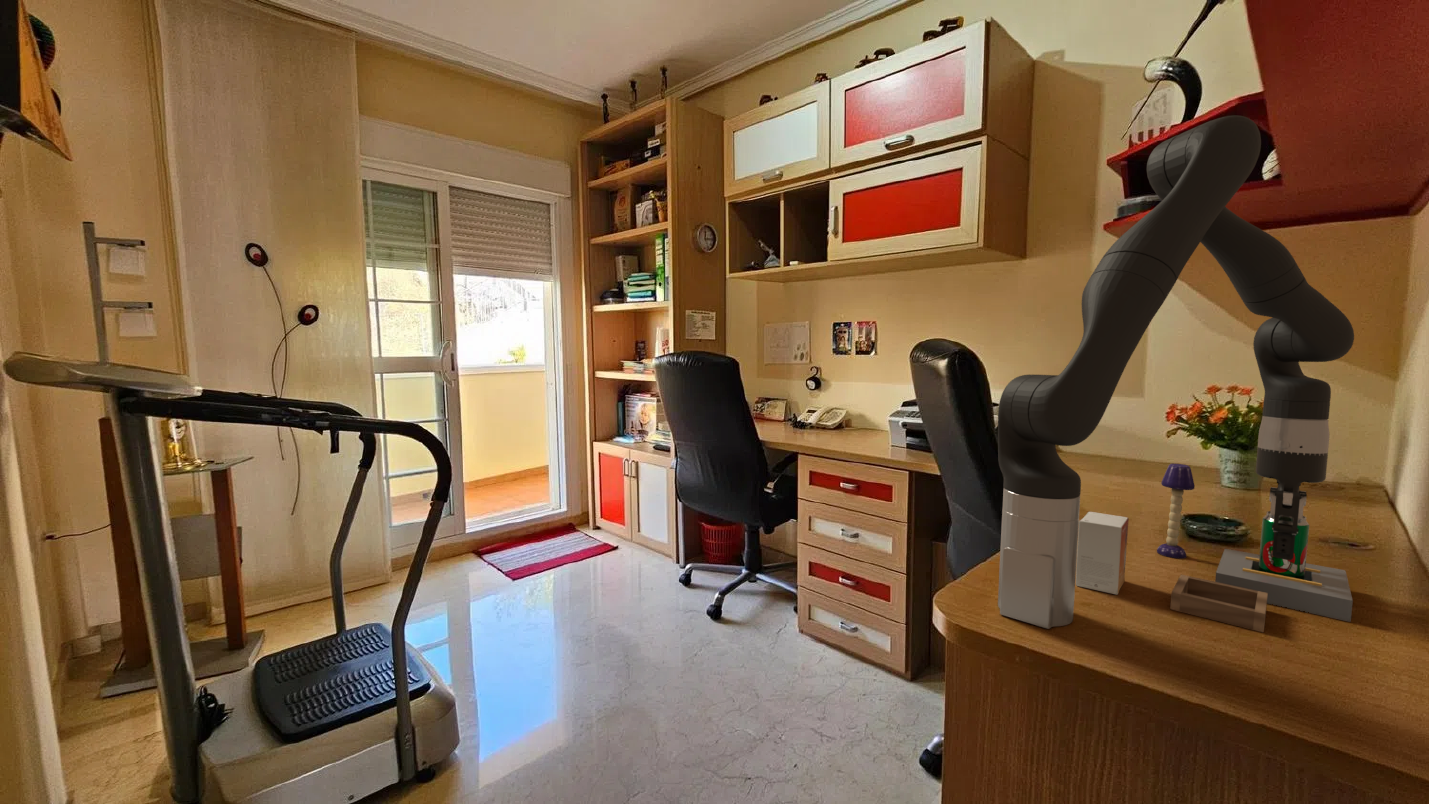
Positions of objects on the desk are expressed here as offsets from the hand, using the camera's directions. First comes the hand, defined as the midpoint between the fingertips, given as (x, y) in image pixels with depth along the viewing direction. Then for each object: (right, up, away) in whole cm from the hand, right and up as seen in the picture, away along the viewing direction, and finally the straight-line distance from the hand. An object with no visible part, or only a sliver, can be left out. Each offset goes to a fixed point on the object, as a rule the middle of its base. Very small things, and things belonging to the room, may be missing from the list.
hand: (1282, 551), depth 88 cm
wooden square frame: (-16, -7, -6) cm, 18 cm away
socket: (0, -6, 0) cm, 6 cm away
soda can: (0, -6, 0) cm, 6 cm away
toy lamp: (-4, -5, +16) cm, 17 cm away
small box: (-26, -6, +3) cm, 27 cm away
